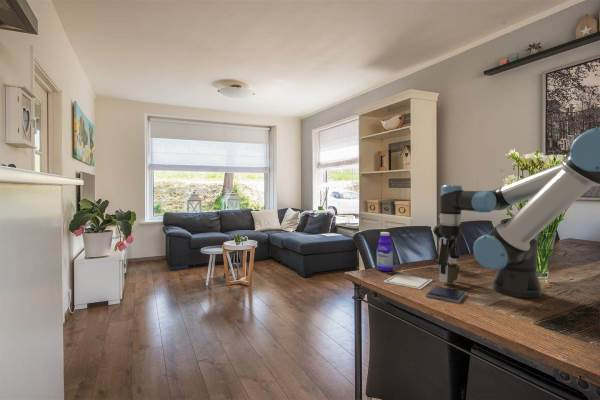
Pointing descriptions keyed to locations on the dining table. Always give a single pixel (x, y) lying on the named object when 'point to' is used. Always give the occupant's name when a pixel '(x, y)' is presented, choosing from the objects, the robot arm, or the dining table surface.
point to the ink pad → (446, 294)
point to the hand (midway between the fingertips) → (448, 277)
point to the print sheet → (408, 281)
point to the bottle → (385, 253)
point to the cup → (452, 273)
